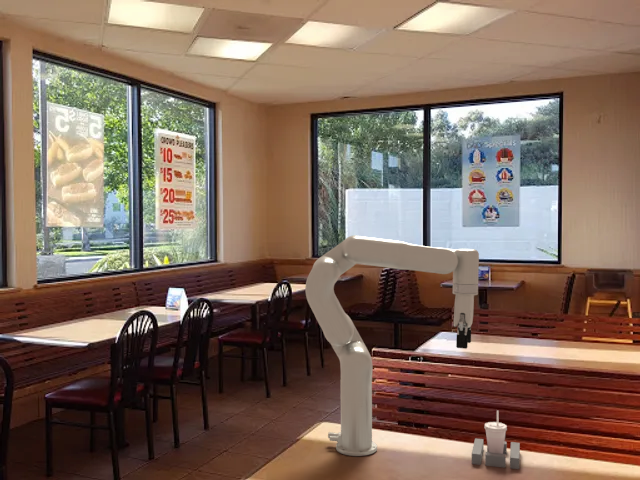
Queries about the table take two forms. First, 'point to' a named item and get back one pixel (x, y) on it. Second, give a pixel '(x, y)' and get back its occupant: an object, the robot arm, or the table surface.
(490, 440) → the smoothie
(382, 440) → the table surface
